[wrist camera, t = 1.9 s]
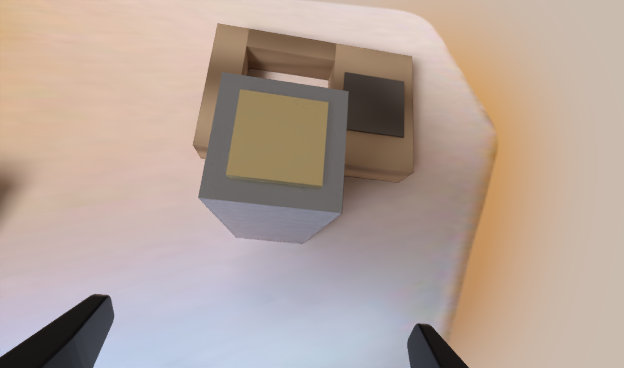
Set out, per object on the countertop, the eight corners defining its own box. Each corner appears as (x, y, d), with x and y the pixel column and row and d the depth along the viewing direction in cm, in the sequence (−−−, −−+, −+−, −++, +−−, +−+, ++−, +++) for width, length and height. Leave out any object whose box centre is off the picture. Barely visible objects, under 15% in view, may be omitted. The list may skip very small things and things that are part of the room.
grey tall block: (301, 243, 21) (344, 211, 10) (236, 237, 21) (196, 195, 9) (307, 181, 23) (350, 86, 11) (245, 174, 22) (220, 66, 10)
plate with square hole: (398, 182, 24) (414, 171, 21) (200, 158, 22) (192, 143, 19) (398, 75, 26) (413, 54, 24) (222, 47, 25) (217, 21, 22)
